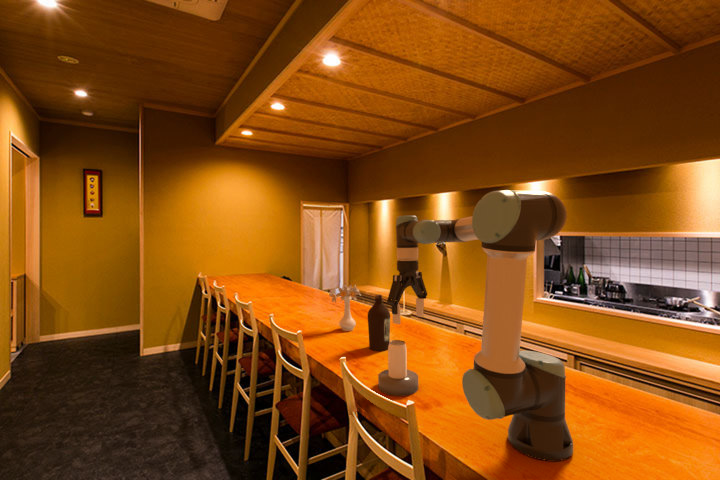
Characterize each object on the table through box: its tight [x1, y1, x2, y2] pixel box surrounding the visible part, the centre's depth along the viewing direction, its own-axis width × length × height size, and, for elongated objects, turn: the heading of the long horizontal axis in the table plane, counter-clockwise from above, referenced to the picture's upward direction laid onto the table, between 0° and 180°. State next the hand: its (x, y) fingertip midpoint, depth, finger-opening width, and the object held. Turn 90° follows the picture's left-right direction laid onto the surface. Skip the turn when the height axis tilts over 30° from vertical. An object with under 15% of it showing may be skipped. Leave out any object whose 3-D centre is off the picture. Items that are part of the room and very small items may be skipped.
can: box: [387, 339, 408, 379], centre depth 132 cm, size 6×6×12 cm
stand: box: [377, 369, 419, 397], centre depth 132 cm, size 14×14×4 cm
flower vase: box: [329, 284, 362, 332], centre depth 207 cm, size 13×18×25 cm
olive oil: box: [367, 294, 391, 352], centre depth 175 cm, size 11×11×25 cm
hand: (408, 319), depth 132 cm, fingers open, 13 cm apart
